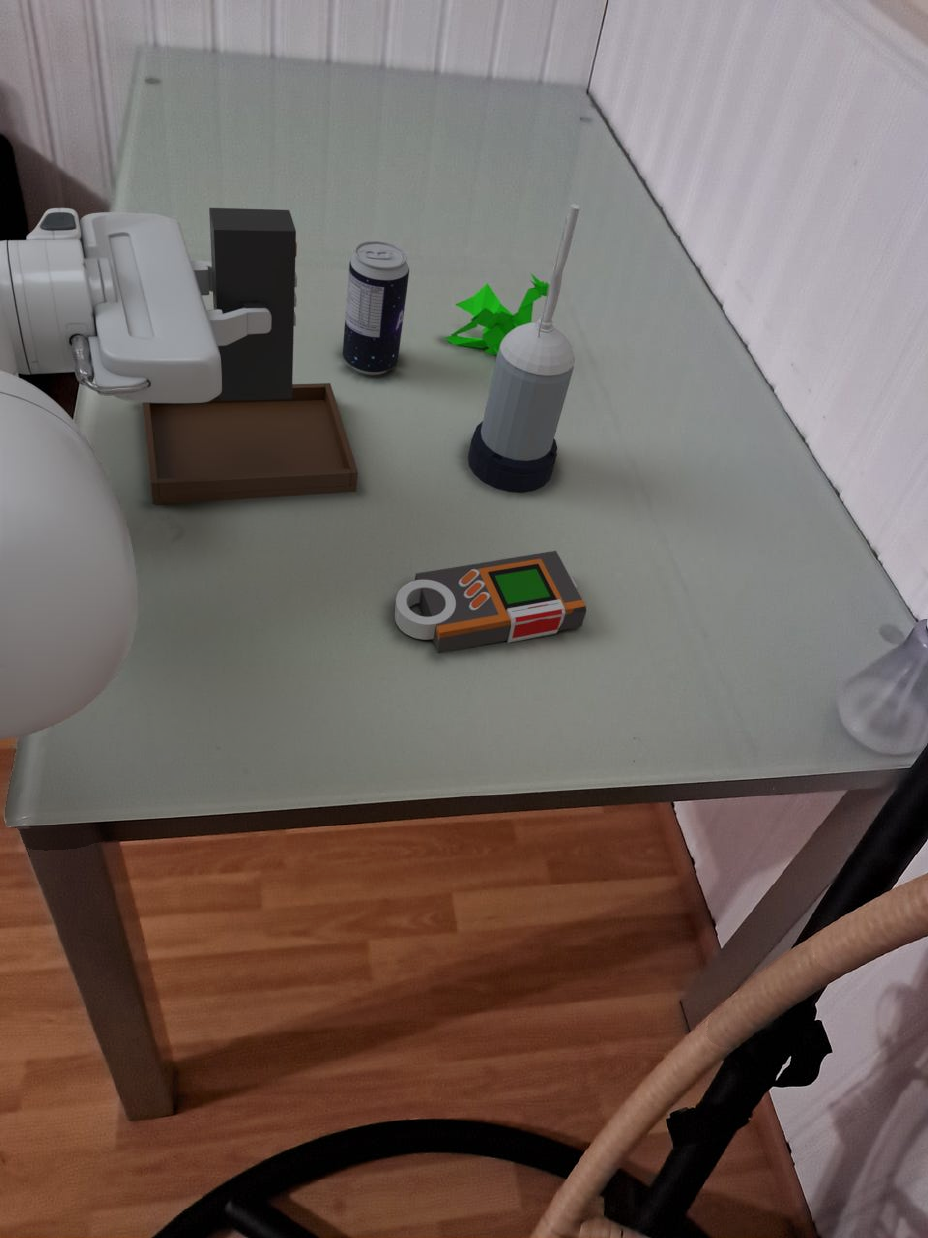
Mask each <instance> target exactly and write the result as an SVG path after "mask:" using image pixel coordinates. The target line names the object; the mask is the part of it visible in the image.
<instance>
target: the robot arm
mask: <svg viewBox="0 0 928 1238" xmlns="http://www.w3.org/2000/svg"><path fill="white" fill-rule="evenodd" d="M210 292H211V293H213V284H212V261H209V260H192V259H191V256H190V253H189V249H188V246H187V243H186V240H185V238H184V234H183V231H182V227H181V224H180V222H179V221H178V220H176V219H173V218H172V217H169V216H166V215H163V214H159V213H151V212H149V213H148V212H128V211H127V212H125V211H122V212H121V211H119V212H118V211H113V212H112V211H104V212H103V211H102V212H99V211H98V212H92V213H88V214H85V215H84V216H83V217H82V218H81V219H80V217H79V214H78V212H77V211H76V210H75V209H74V208H69V207H53V208H48V209H47V210H46V211H45V212H44V213H43V215H42V217H41V218H40V219H39V222H38V223H37V225H36V226H35V228H34V229H33V230H32V231H30V233H28V234H27V235H26V239H12V240H11V239H9V240H7V239H5V240H0V740H6V739H7V740H9V739H14V738H19V737H24V736H27V735H32V734H36V733H38V732H41V731H43V730H44V731H45V730H46V729H49V728H52V727H54V726H56V725H58V724H60V723H62V722H64V721H66V720H68V719H70V718H71V717H73V716H75V715H76V714H79V712H81V711H82V710H84V709H85V708H87V707H88V706H89V705H90V704H91V703H93V702H94V701H95V700H96V699H98V698H99V696H101V694H102V693H104V691H106V689H107V688H108V687H109V686H110V685H111V684H112V682H113V681H114V679H115V678H116V676H117V675H118V674H119V672H120V671H121V669H122V667H123V666H124V664H125V662H126V660H127V658H128V656H129V654H130V652H131V649H132V646H133V644H134V640H135V638H136V637H135V636H136V632H137V626H138V621H139V606H140V605H139V589H138V587H139V586H138V574H137V566H136V559H135V553H134V549H133V544H132V539H131V536H130V531H129V528H128V525H127V520H126V516H125V513H124V512H123V509H122V506H121V504H120V501H119V499H118V495H117V493H116V491H115V490H116V489H115V488H114V485H113V484H112V481H111V480H110V477H109V476H108V474H107V472H106V470H105V468H104V466H103V464H102V462H101V460H100V459H99V457H98V456H97V454H96V452H95V450H94V448H93V447H92V445H91V443H90V442H89V440H88V438H87V437H86V435H84V433H83V431H82V430H81V428H80V427H79V426H78V424H77V423H76V422H75V421H74V419H73V418H72V417H71V416H70V415H69V413H68V412H67V411H65V409H64V408H63V407H62V406H60V404H59V403H57V402H56V401H55V399H53V398H52V397H50V396H49V395H48V394H47V393H45V392H44V391H42V390H41V389H40V388H38V387H37V386H35V385H33V384H32V383H30V382H28V381H27V380H25V379H24V378H21V377H20V376H19V374H20V375H41V374H42V375H45V374H60V373H74V374H75V378H76V379H77V382H78V383H79V384H81V385H83V386H86V387H87V388H88V389H89V390H92V391H94V392H96V393H97V394H98V395H100V396H105V397H114V398H117V399H118V400H119V399H120V400H122V401H126V402H127V401H128V402H134V403H142V402H145V403H204V402H208V401H210V400H212V399H214V398H215V397H217V396H219V395H220V394H221V392H222V370H221V357H220V353H219V349H218V346H227V345H229V344H231V343H233V342H235V341H237V340H239V339H241V338H243V337H245V336H247V334H263V333H268V332H269V331H270V330H271V313H270V311H269V309H268V307H267V304H266V303H264V302H256V303H255V302H243V308H242V309H238V310H235V311H232V312H228V313H225V314H223V312H222V310H220V309H219V310H214V309H207V308H206V304H205V302H204V298H203V296H210ZM93 382H95V383H93Z"/></svg>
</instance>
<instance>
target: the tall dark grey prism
mask: <svg viewBox="0 0 928 1238" xmlns="http://www.w3.org/2000/svg"><path fill="white" fill-rule="evenodd" d="M208 213H209V216H208V217H209V235H210V258H211V259H210V260H211V261H210V262H212V284H213V292H212V303H213V310H219V309H220V310H222V312H223V314H225V313H228V312H232V311H235V310H238V309H242V308H243V302H255V303H256V302H264V303H266V304H267V307H268V309H269V311H270V313H271V330H270V331H269V332H268V333H263V334H247V336H245V337H243V338H241V339H239V340H237V341H235V342H233V343H231V344H229V345H227V346H218V349H219V353H220V357H221V370H222V392H221V394H220V400H221V401H230V400H264V399H292V384H293V375H294V373H293V370H294V369H293V368H294V335H295V334H294V333H295V332H294V329H295V327H296V326H297V315H296V312H295V308H296V307H297V293H296V291H295V290H296V288H298V276H297V273H296V258H297V255H298V254H297V253H298V252H297V250H298V249H297V248H298V247H297V244H298V243H297V231H296V230H297V229H296V226H295V224H294V221H293V218H292V215H291V210H290V209H271V208H270V209H269V208H238V207H209V208H208Z"/></svg>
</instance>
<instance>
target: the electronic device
mask: <svg viewBox="0 0 928 1238" xmlns="http://www.w3.org/2000/svg"><path fill="white" fill-rule="evenodd" d="M417 604H418V607H419V609H420V612H421V615H419V614H417V613H415V612H413V611H412V610H411V609H410V607H412V606H414V605H417ZM586 613H587V606H586V604H585V602H584V600H583V598H582V597H581V595H580V592H579V591H578V585H577V583H576V582H575V580H574V578H573V577H572V575H570V574H569V572H568V570H567V567H566V566H565V565H564V563H563V561H562V559H561V557H560V555H559V554H558V551H557V550H552V551H546V552H540V553H539V552H538V553H533V554H528V555H527V554H526V555H521V556H515V557H509V558H502V559H497V560H491V561H485V562H484V561H483V562H479V563H472V564H465V565H460V566H459V565H458V566H454V567H447V568H441V569H436V570H429V571H423V572H422V571H421V572H416V573H415V574H414V580H412V581H410V582H408V583H405V584H404V585H403V586H402V587H401V588H400V589H399V590H398V592H397V593H396V597H395V607H394V621H395V623H396V626H397V628H399V629H400V631H401V632H403V633H404V634H405V635H407V636H409V637H411V638H414V639H416V640H417V639H418V640H424V641H425V640H431V641H432V643H433V644H434V647H435V649H436V652H437V654H440V653H448V652H453V651H459V650H465V649H469V648H473V647H475V648H476V647H479V646H484V645H485V646H486V645H491V644H495V643H500V642H501V643H502V642H505V641H506V642H507V644H508V643H509V644H510V643H514V642H519V641H520V642H521V641H524V640H530V639H534V638H539V637H544V636H549V635H550V636H551V635H554V634H555V635H556V634H557V633H558V632H559V631H564V630H570V629H574V628H578V627H582V626H583V623H584V620H585V616H586Z"/></svg>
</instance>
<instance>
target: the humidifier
mask: <svg viewBox="0 0 928 1238" xmlns="http://www.w3.org/2000/svg"><path fill="white" fill-rule="evenodd" d="M580 207H581V206H580V205H578V204H577V203H572V204H571V205H570V207H569V210H568V215H567V217H565V221H564V225H563V230H562V232H561V233H562V234H561V237H560V242H559V244H558V245H559V246H558V250H557V254H556V257H555V261H554V263H553V267H552V270H551V275H550V280H549V283H548V284H549V288H548V292H547V296H545V302H544V307H543V309H542V312H541V315H540V317H539V318H538V320H537V321H533V322H532V321H531V322H530V323H527V324H524V325H521V326H518V327H516V328H515V329H513V330H512V331H510V332H509V333H508V334H507V335H506V336H505V337H504V339H503V340H502V342H501V344H500V348H499V351H498V353H497V354H496V358H495V363H494V367H493V372H492V375H491V381H490V385H489V389H488V390H489V391H488V396H487V401H486V404H485V410H484V415H483V418H482V421H481V422H479V424H477V425H476V427H475V430H474V432H473V434H472V437H471V440H470V445H469V449H468V454H467V462H468V467H469V468H470V470H471V471H472V473H473V475H474V476H475V477H477V479H479V480H480V481H481V482H482V483H484V484H486V485H488V486H489V487H491V488H493V489H496V490H500V491H504V492H506V493H515V494H517V493H518V494H523V493H531V492H535V491H537V490H539V489H542V488H543V487H545V486H546V484H548V482H549V481H550V480H551V477H552V475H553V469H554V467H555V466H554V465H555V463H556V460H557V457H558V453H557V451H558V444H557V440H556V438H555V436H556V434H557V433H556V432H557V428H558V426H559V422H560V418H561V415H562V411H563V408H564V404H565V400H566V397H567V393H568V390H569V387H570V384H571V380H572V376H573V372H574V369H575V361H576V357H575V352H574V349H573V346H572V344H571V342H570V341H569V339H568V338H567V336H566V335H565V334H564V333H563V332H562V331H561V330H560V329H559V328H557V327H556V326H554V325H553V321H552V320H553V317H554V313H555V310H556V307H557V303H558V301H559V297H560V292H561V289H562V288H561V287H562V279H563V272H564V269H565V266H566V263H567V260H568V256H569V253H570V249H571V245H572V241H573V236H574V233H575V228H576V225H577V222H578V217H579V214H580V209H581V208H580Z"/></svg>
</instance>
